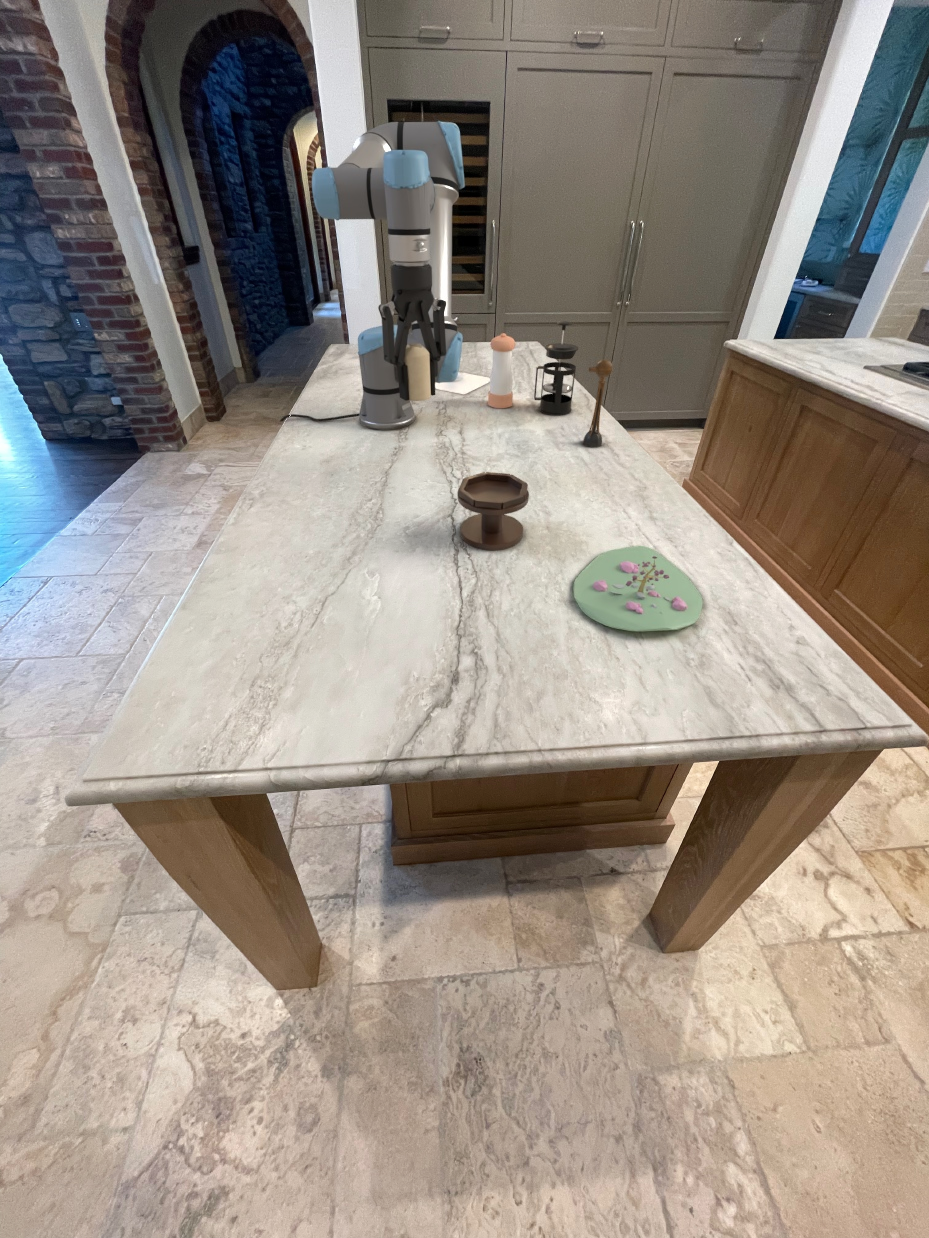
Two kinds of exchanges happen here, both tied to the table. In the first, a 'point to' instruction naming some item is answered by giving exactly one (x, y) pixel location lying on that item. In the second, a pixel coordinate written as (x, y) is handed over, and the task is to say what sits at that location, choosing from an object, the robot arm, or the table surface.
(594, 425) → the wooden tabletop sculpture
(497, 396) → the salt shaker
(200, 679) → the table surface
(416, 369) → the candle
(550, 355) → the french press
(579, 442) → the table surface
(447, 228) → the robot arm
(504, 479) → the candle stand
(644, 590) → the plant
